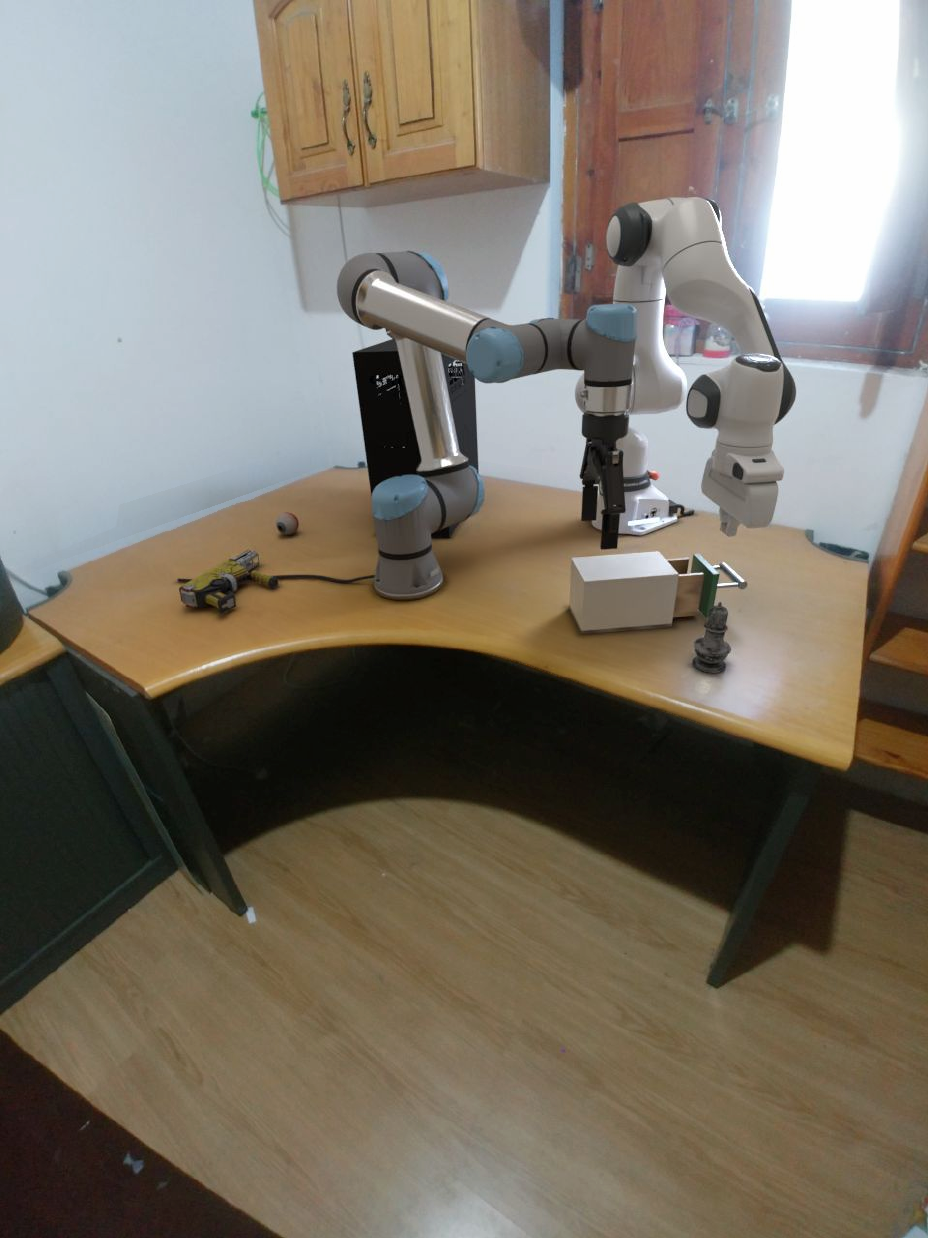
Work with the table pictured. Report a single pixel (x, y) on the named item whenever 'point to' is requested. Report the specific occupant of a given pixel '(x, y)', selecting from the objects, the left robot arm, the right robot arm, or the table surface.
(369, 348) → the black box
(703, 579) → the drawer
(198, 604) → the toy gun
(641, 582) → the cabinet
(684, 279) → the right robot arm
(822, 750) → the table surface
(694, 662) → the dark grey chess piece
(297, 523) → the eyeball
